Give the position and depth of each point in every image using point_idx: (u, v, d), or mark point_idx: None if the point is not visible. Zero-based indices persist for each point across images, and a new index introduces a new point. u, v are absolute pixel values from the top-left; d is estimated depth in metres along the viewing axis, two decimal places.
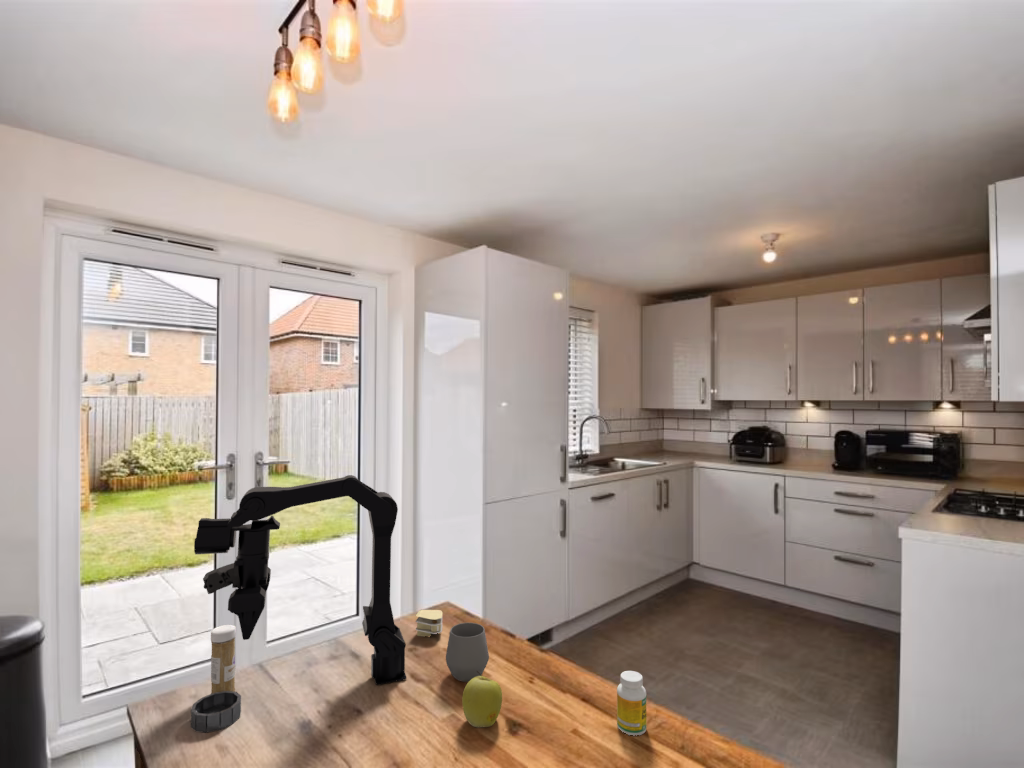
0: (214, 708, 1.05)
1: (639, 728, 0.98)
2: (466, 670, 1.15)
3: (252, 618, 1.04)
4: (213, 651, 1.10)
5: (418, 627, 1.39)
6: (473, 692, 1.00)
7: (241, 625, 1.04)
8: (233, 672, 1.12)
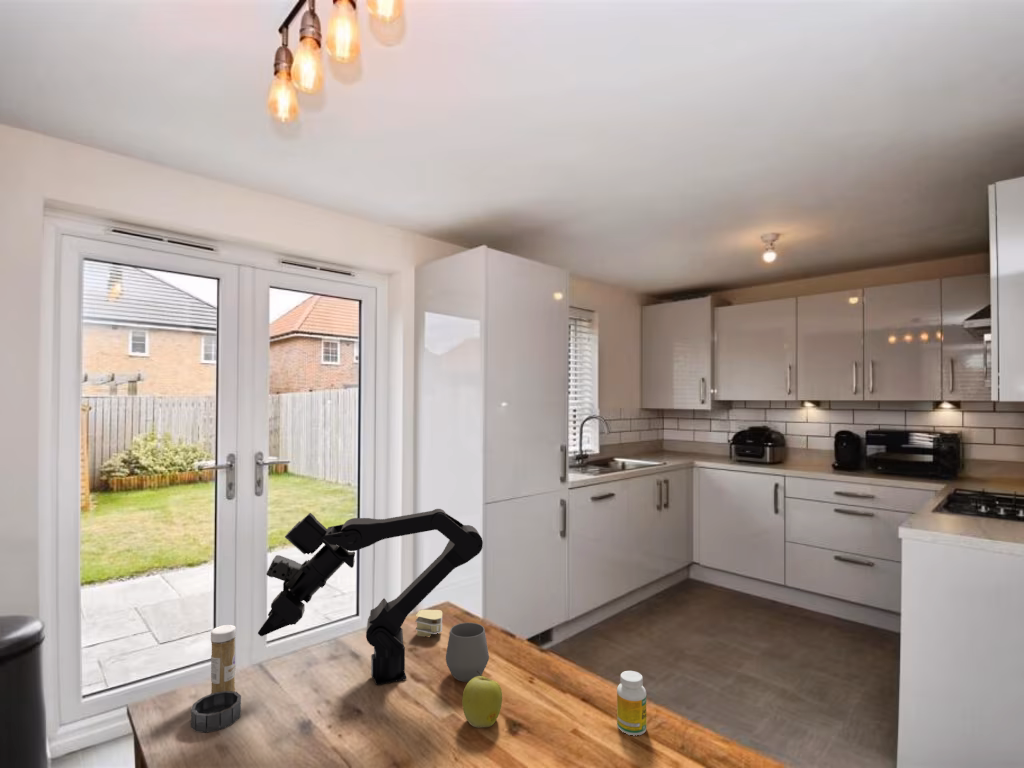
0: (214, 708, 1.05)
1: (639, 728, 0.98)
2: (466, 670, 1.15)
3: (278, 623, 1.09)
4: (213, 651, 1.10)
5: (418, 627, 1.39)
6: (473, 692, 1.00)
7: (266, 621, 1.08)
8: (233, 672, 1.12)
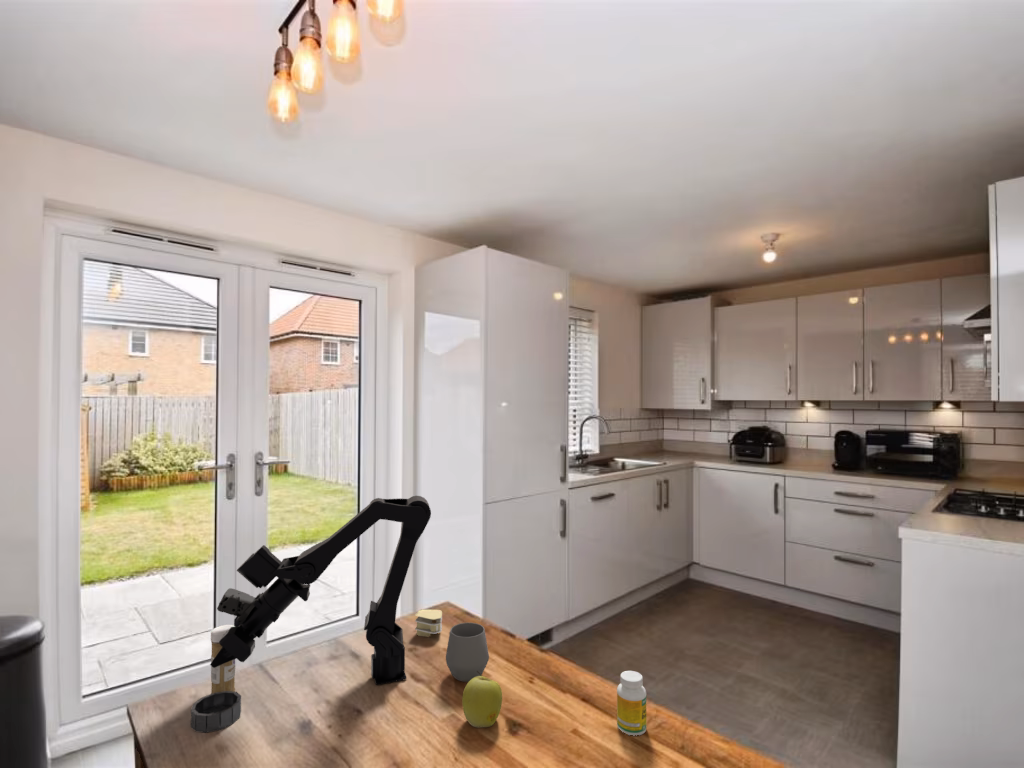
0: (214, 708, 1.05)
1: (639, 728, 0.98)
2: (466, 670, 1.15)
3: (231, 655, 1.09)
4: (213, 651, 1.10)
5: (418, 627, 1.39)
6: (473, 692, 1.00)
7: (219, 653, 1.08)
8: (233, 672, 1.12)
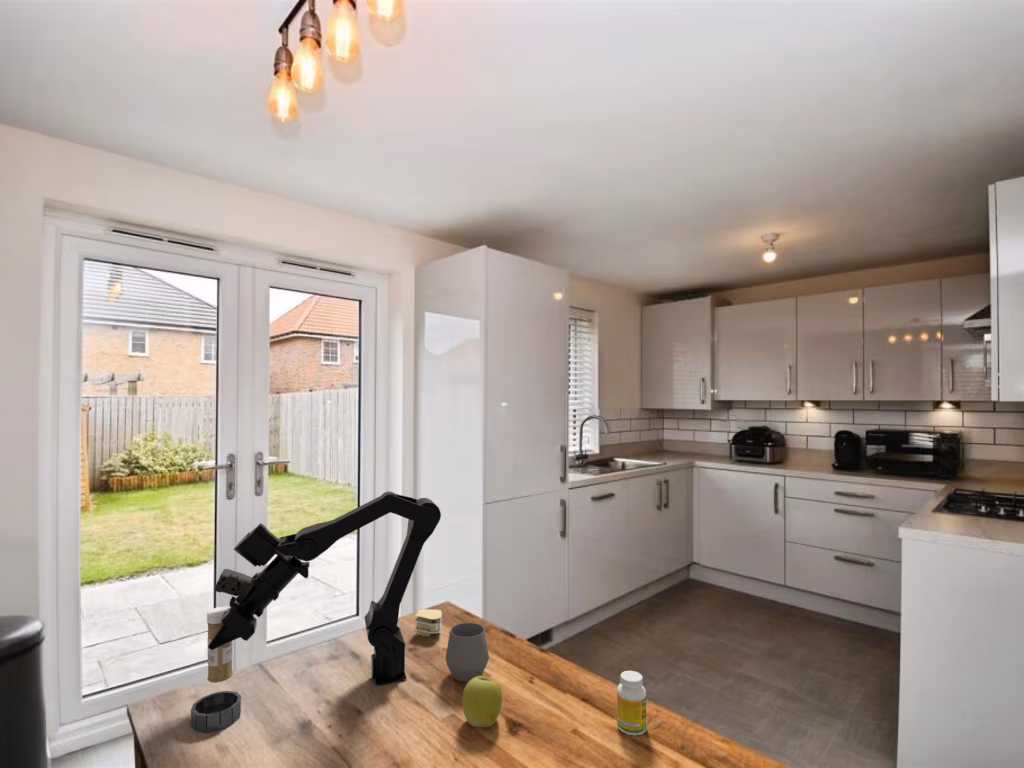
0: (214, 708, 1.05)
1: (639, 728, 0.98)
2: (466, 670, 1.15)
3: (230, 635, 1.06)
4: (210, 633, 1.06)
5: (417, 626, 1.39)
6: (473, 692, 1.00)
7: (217, 634, 1.05)
8: (231, 654, 1.08)
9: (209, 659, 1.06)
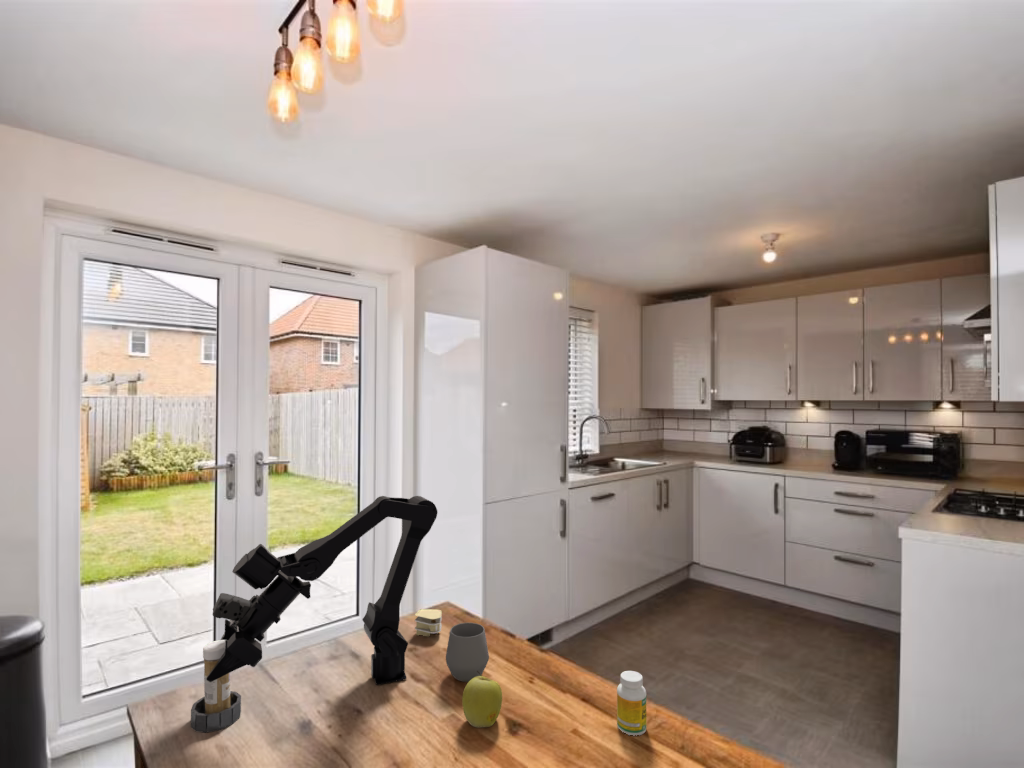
0: None
1: (639, 728, 0.98)
2: (466, 670, 1.15)
3: (232, 665, 1.00)
4: (208, 670, 1.01)
5: (417, 626, 1.39)
6: (473, 692, 1.00)
7: (218, 665, 0.99)
8: (229, 689, 1.04)
9: (207, 697, 1.01)
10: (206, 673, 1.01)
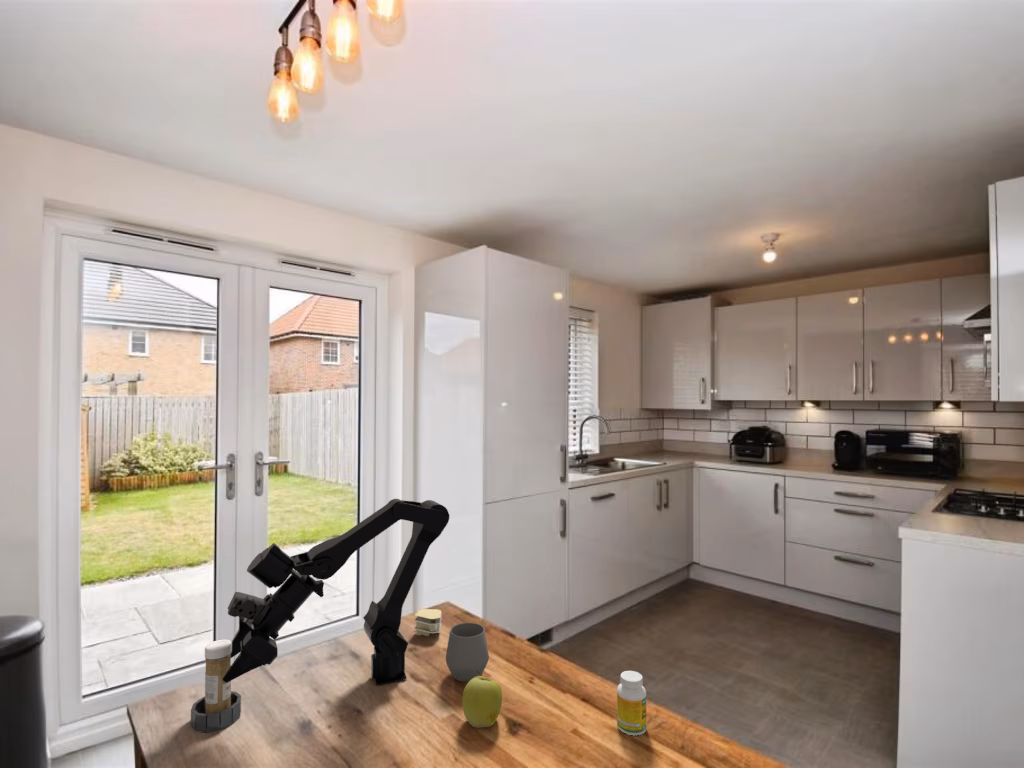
0: None
1: (639, 728, 0.98)
2: (466, 670, 1.15)
3: (247, 666, 1.00)
4: (209, 669, 1.01)
5: (417, 626, 1.39)
6: (473, 692, 1.00)
7: (234, 665, 1.00)
8: (230, 690, 1.04)
9: (208, 697, 1.01)
10: (207, 672, 1.02)
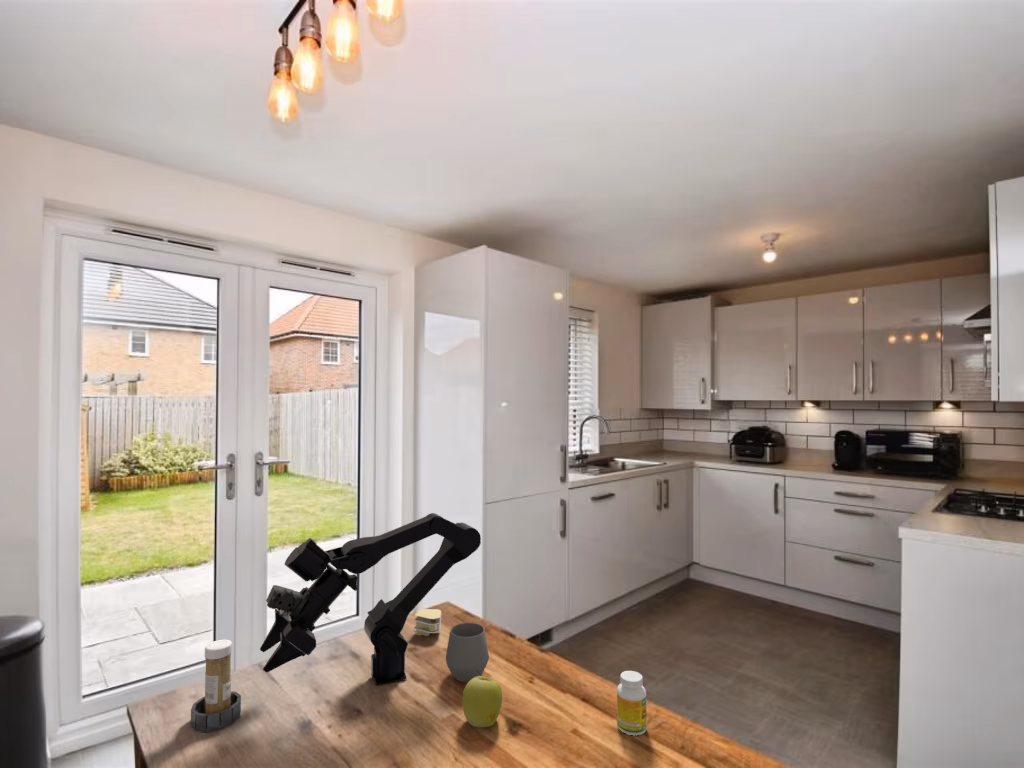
0: None
1: (639, 728, 0.98)
2: (466, 670, 1.15)
3: (287, 656, 1.04)
4: (209, 669, 1.01)
5: (417, 626, 1.39)
6: (473, 692, 1.00)
7: (274, 656, 1.03)
8: (230, 690, 1.04)
9: (208, 697, 1.01)
10: (207, 672, 1.02)
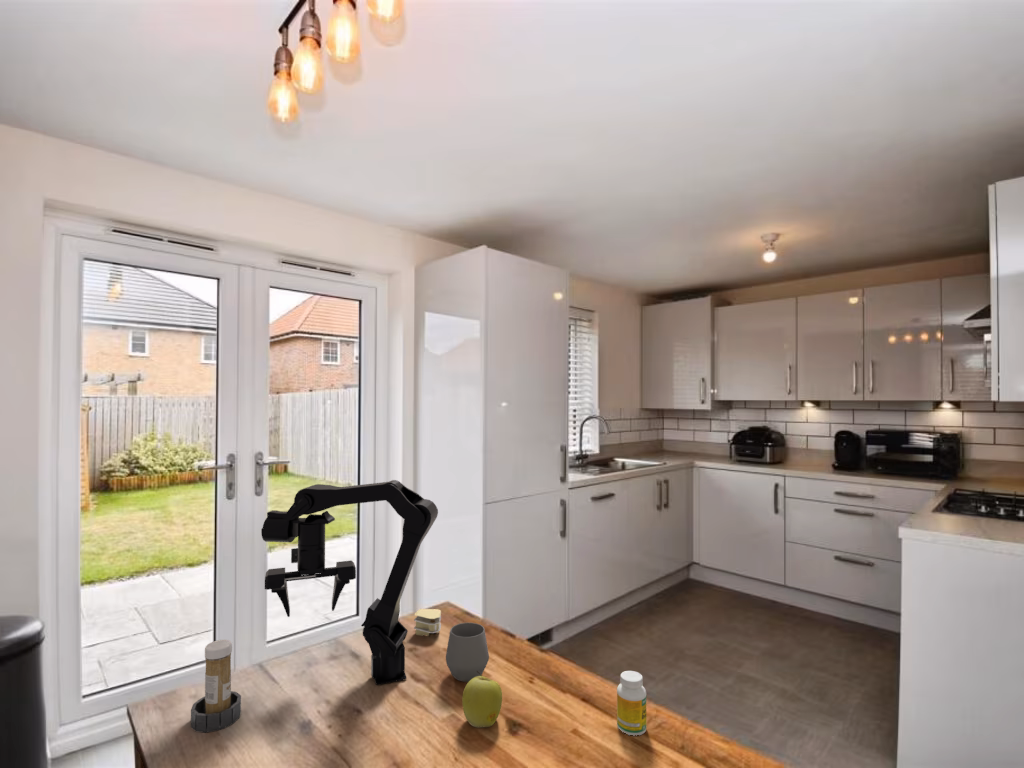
0: None
1: (639, 728, 0.98)
2: (466, 670, 1.15)
3: None
4: (209, 669, 1.01)
5: (416, 626, 1.39)
6: (473, 692, 1.00)
7: None
8: (230, 690, 1.04)
9: (208, 697, 1.01)
10: (207, 672, 1.02)
